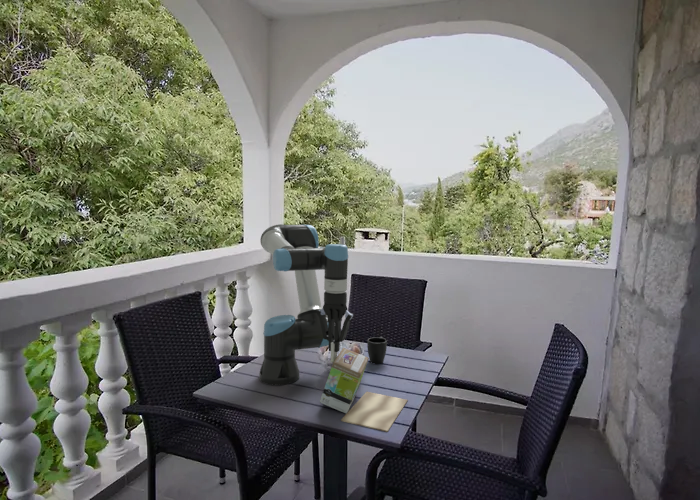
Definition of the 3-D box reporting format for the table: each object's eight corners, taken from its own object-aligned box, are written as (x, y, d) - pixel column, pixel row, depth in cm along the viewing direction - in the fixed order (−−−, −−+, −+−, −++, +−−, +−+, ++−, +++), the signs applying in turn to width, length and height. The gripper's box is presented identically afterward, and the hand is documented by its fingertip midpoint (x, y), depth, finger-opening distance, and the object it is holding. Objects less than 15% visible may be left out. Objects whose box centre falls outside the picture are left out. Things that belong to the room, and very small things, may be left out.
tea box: (347, 415, 132) (361, 373, 130) (318, 402, 134) (331, 361, 131) (356, 394, 147) (369, 356, 144) (330, 383, 148) (342, 346, 146)
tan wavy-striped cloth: (340, 420, 128) (340, 419, 128) (366, 392, 148) (366, 391, 148) (387, 431, 122) (387, 430, 122) (407, 400, 142) (407, 399, 142)
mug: (391, 357, 184) (391, 336, 183) (382, 366, 173) (383, 344, 172) (373, 354, 187) (373, 333, 186) (364, 363, 176) (364, 341, 175)
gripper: (313, 291, 136) (311, 361, 138) (348, 295, 131) (346, 367, 133) (323, 287, 143) (322, 354, 145) (357, 291, 138) (355, 360, 140)
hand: (333, 360), depth 139 cm, fingers closed
